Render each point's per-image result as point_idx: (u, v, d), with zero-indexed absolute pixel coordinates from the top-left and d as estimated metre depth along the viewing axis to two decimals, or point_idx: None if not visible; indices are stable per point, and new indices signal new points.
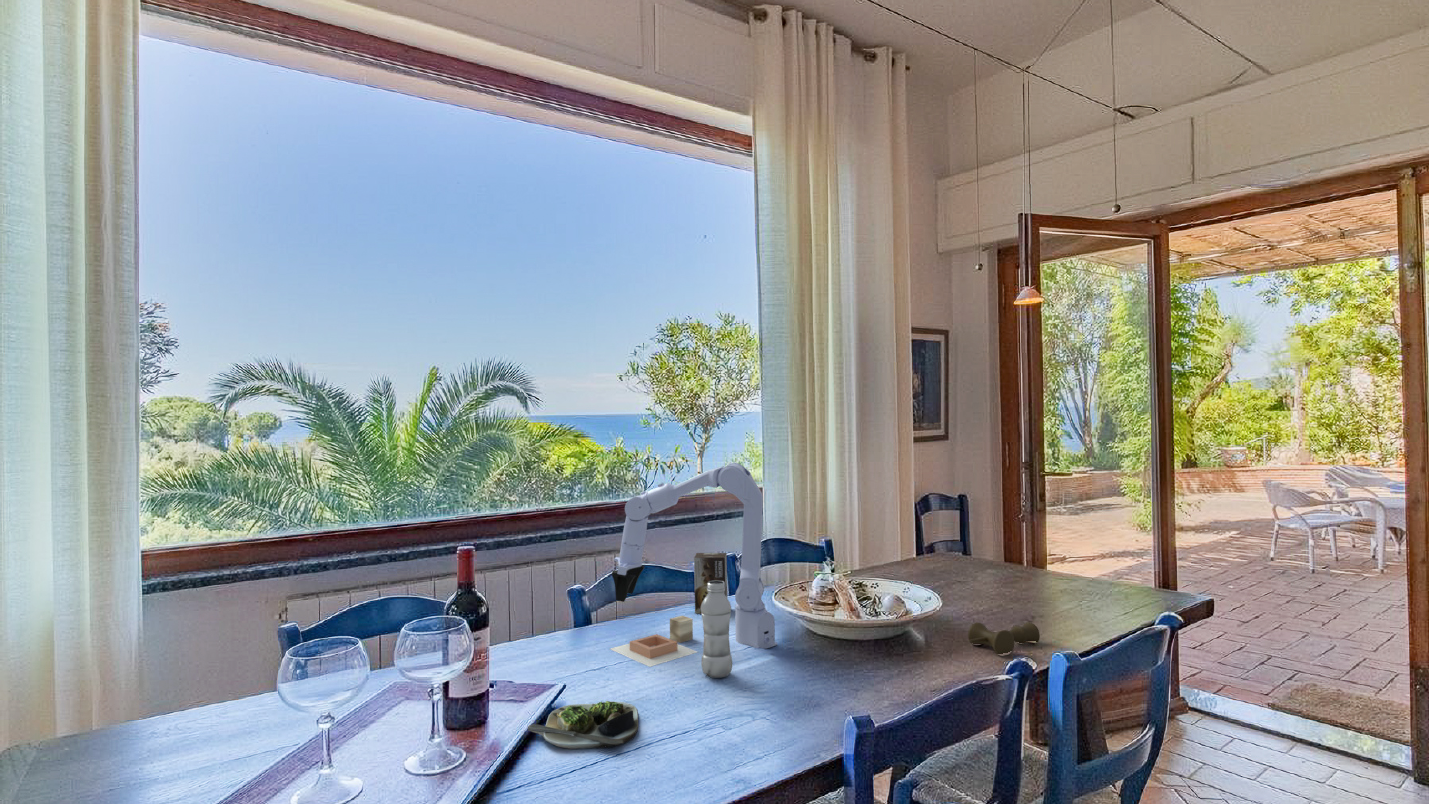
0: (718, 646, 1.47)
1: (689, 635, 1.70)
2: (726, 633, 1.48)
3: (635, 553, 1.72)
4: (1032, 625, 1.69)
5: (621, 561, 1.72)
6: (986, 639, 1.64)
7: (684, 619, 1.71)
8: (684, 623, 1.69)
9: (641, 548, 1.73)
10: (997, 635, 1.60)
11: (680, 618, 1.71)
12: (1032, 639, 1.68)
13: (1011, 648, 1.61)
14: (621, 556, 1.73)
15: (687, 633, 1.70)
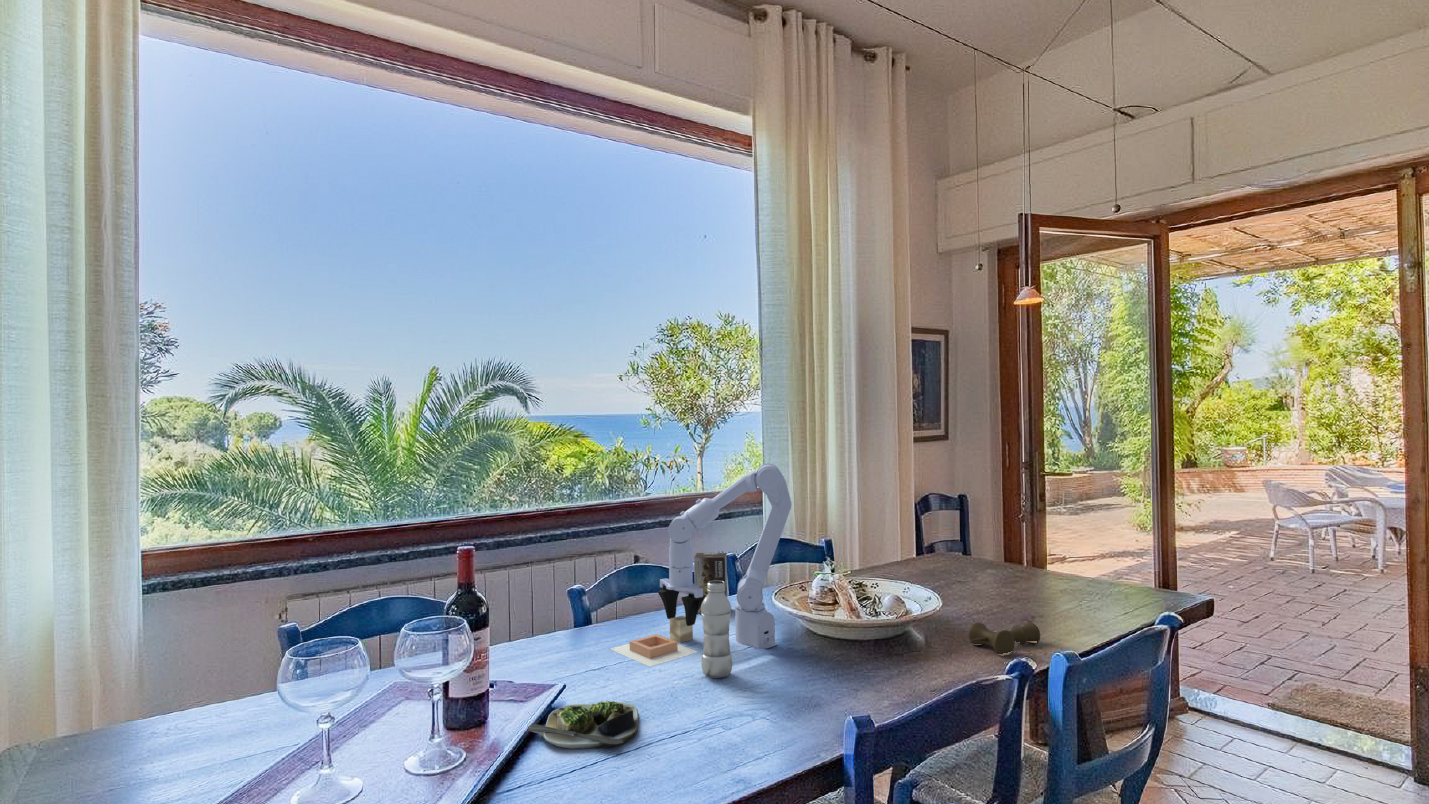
0: (718, 646, 1.47)
1: (689, 635, 1.70)
2: (726, 633, 1.48)
3: (691, 573, 1.71)
4: (1033, 625, 1.69)
5: (682, 586, 1.68)
6: (986, 639, 1.64)
7: (684, 619, 1.71)
8: (684, 623, 1.69)
9: None
10: (997, 635, 1.60)
11: (680, 618, 1.71)
12: (1032, 639, 1.68)
13: (1011, 648, 1.61)
14: (680, 582, 1.68)
15: (687, 633, 1.70)
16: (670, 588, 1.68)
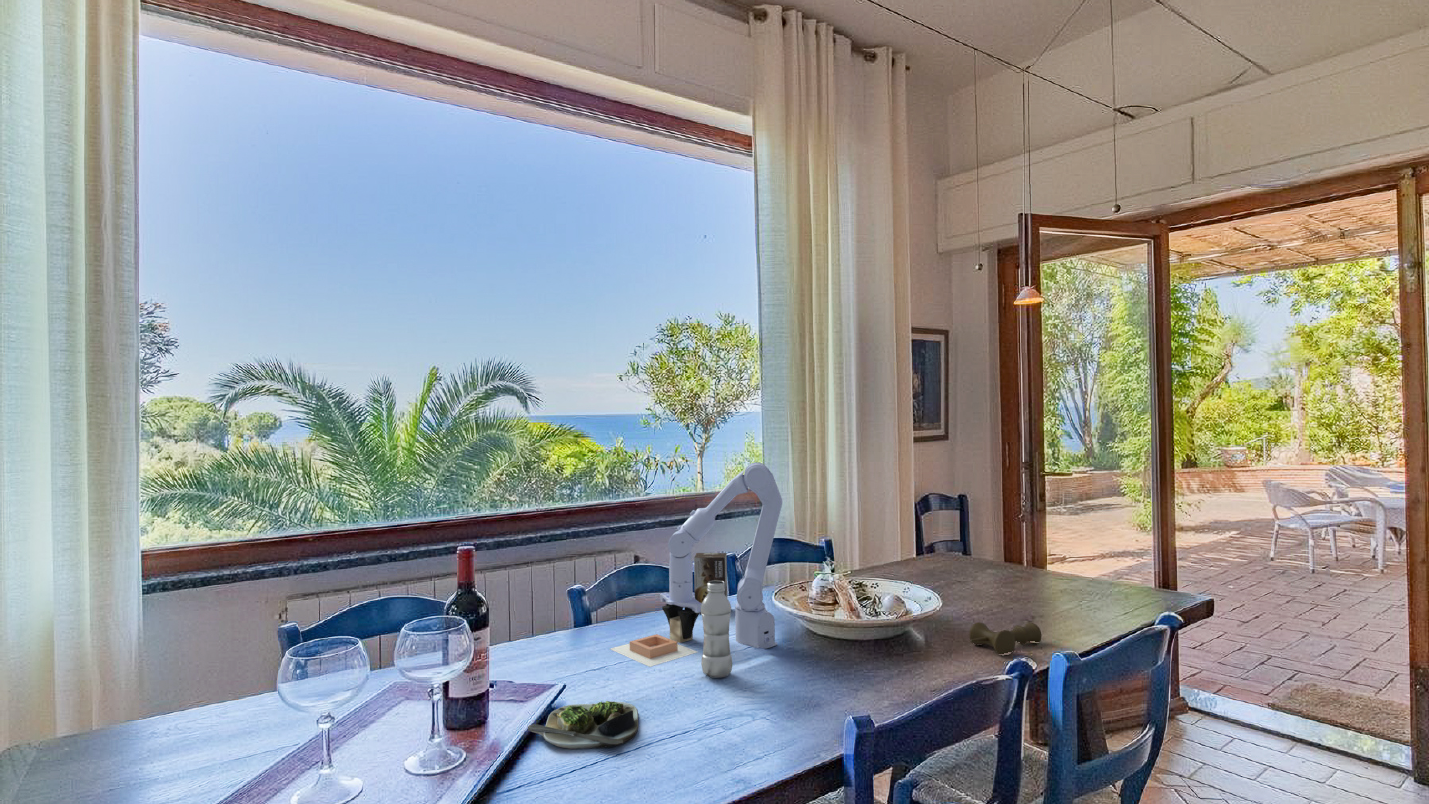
0: (718, 646, 1.47)
1: None
2: (726, 633, 1.48)
3: (691, 588, 1.70)
4: (1034, 625, 1.68)
5: (682, 601, 1.68)
6: (987, 639, 1.64)
7: None
8: None
9: None
10: (998, 635, 1.60)
11: None
12: (1033, 639, 1.67)
13: (1012, 648, 1.61)
14: (680, 596, 1.68)
15: None
16: (670, 603, 1.68)
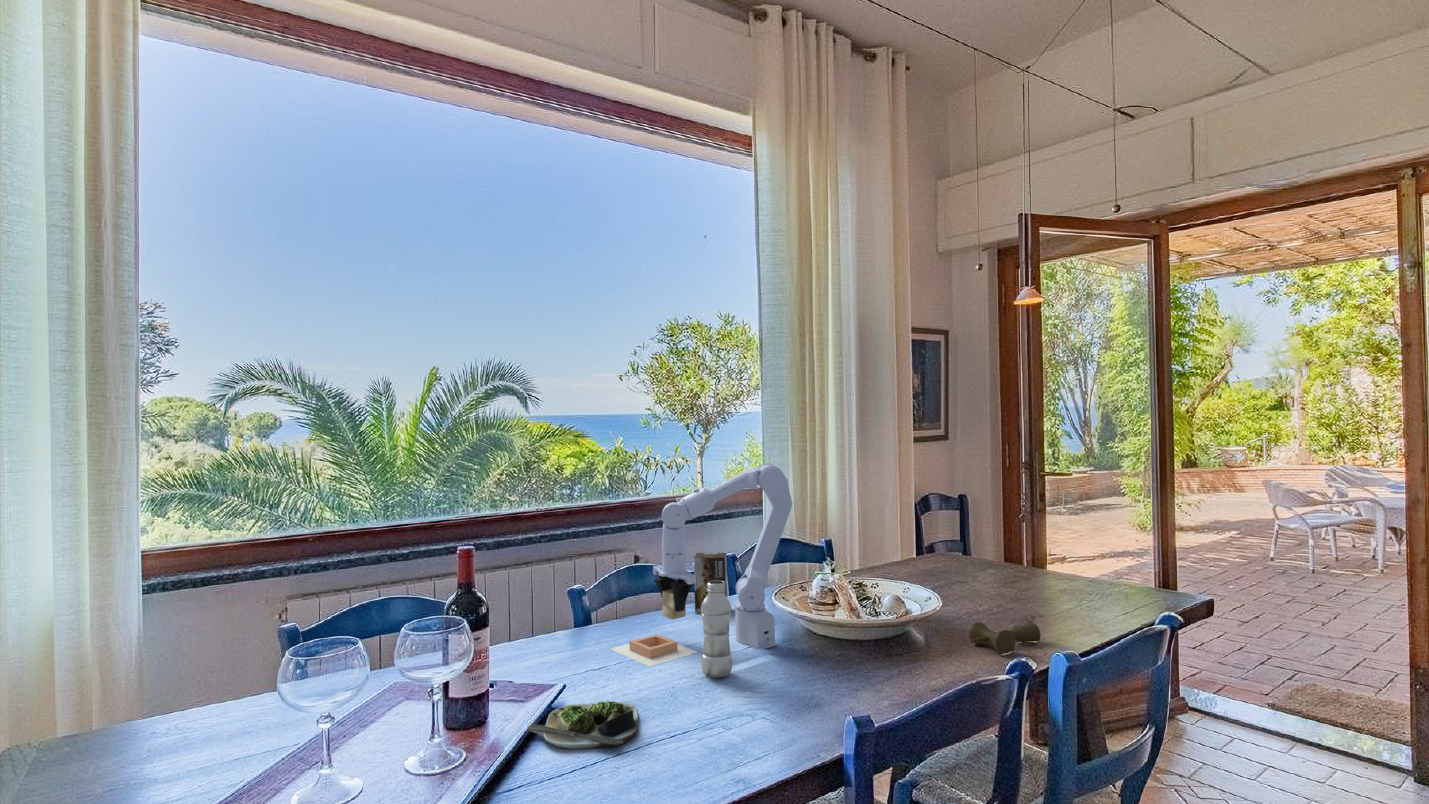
0: (718, 646, 1.47)
1: None
2: (726, 633, 1.48)
3: (684, 560, 1.69)
4: (1033, 624, 1.69)
5: (675, 573, 1.66)
6: (987, 639, 1.64)
7: None
8: None
9: None
10: (998, 634, 1.60)
11: None
12: (1032, 639, 1.68)
13: (1012, 648, 1.61)
14: (673, 568, 1.67)
15: None
16: (663, 575, 1.66)
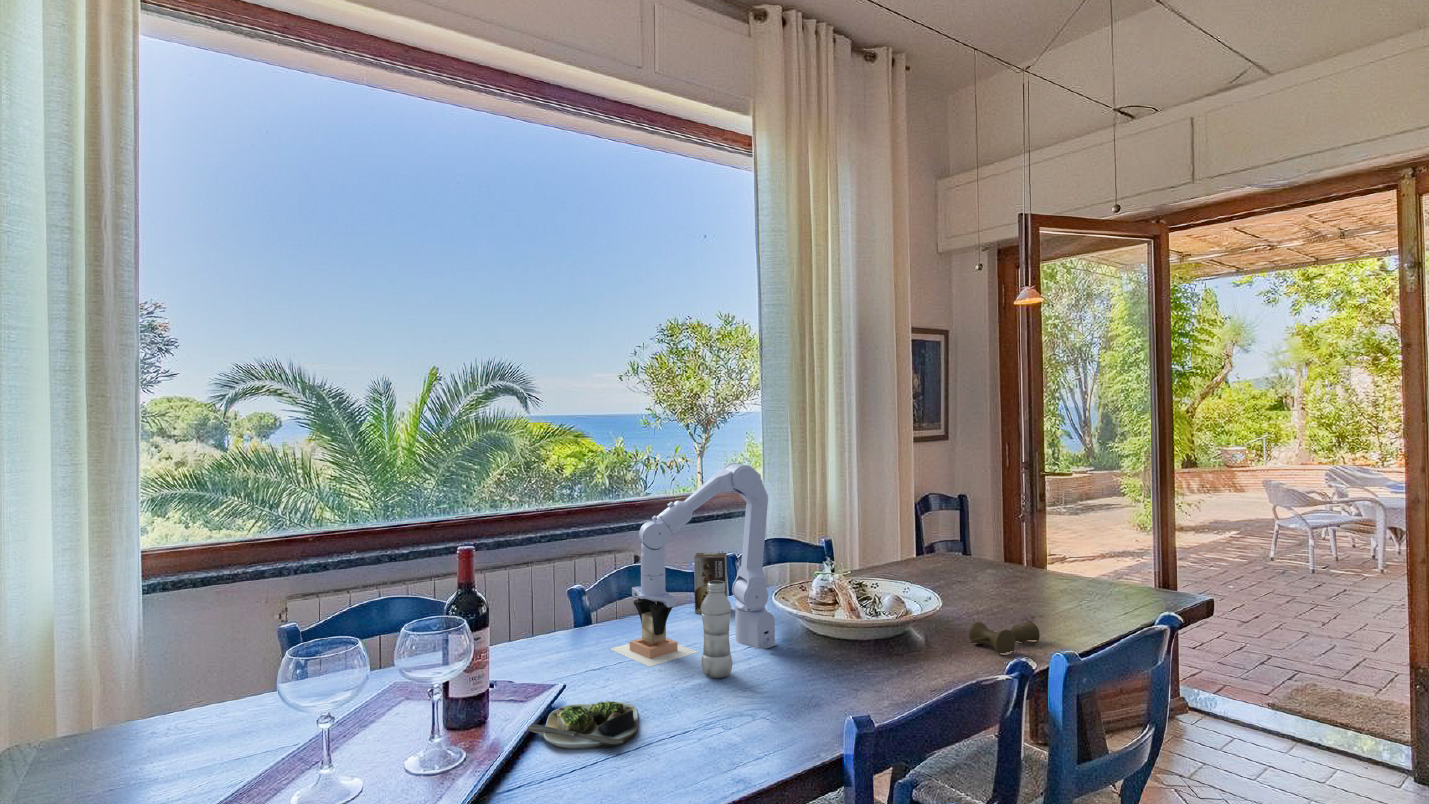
0: (718, 646, 1.47)
1: None
2: (726, 633, 1.48)
3: (664, 581, 1.62)
4: (1032, 624, 1.69)
5: (654, 595, 1.60)
6: (987, 639, 1.64)
7: None
8: None
9: None
10: (999, 634, 1.60)
11: None
12: (1032, 638, 1.68)
13: (1012, 647, 1.61)
14: (652, 590, 1.60)
15: None
16: (641, 597, 1.60)
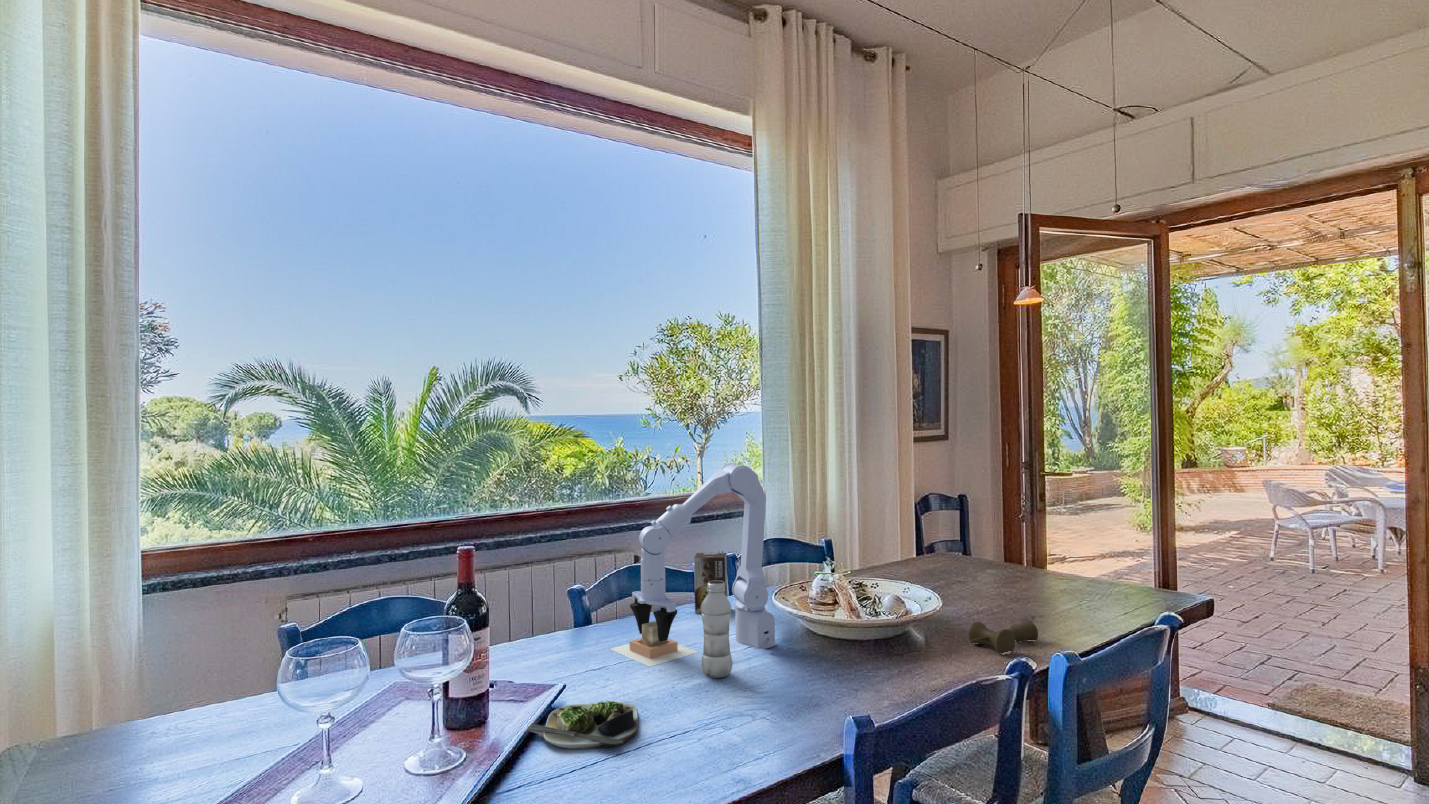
0: (718, 646, 1.47)
1: (662, 641, 1.62)
2: (726, 633, 1.48)
3: (664, 586, 1.62)
4: (1030, 623, 1.70)
5: (654, 600, 1.60)
6: (987, 638, 1.64)
7: None
8: (657, 629, 1.61)
9: None
10: (999, 634, 1.60)
11: (653, 624, 1.63)
12: (1030, 637, 1.69)
13: (1012, 647, 1.62)
14: (652, 595, 1.60)
15: None
16: (641, 602, 1.60)
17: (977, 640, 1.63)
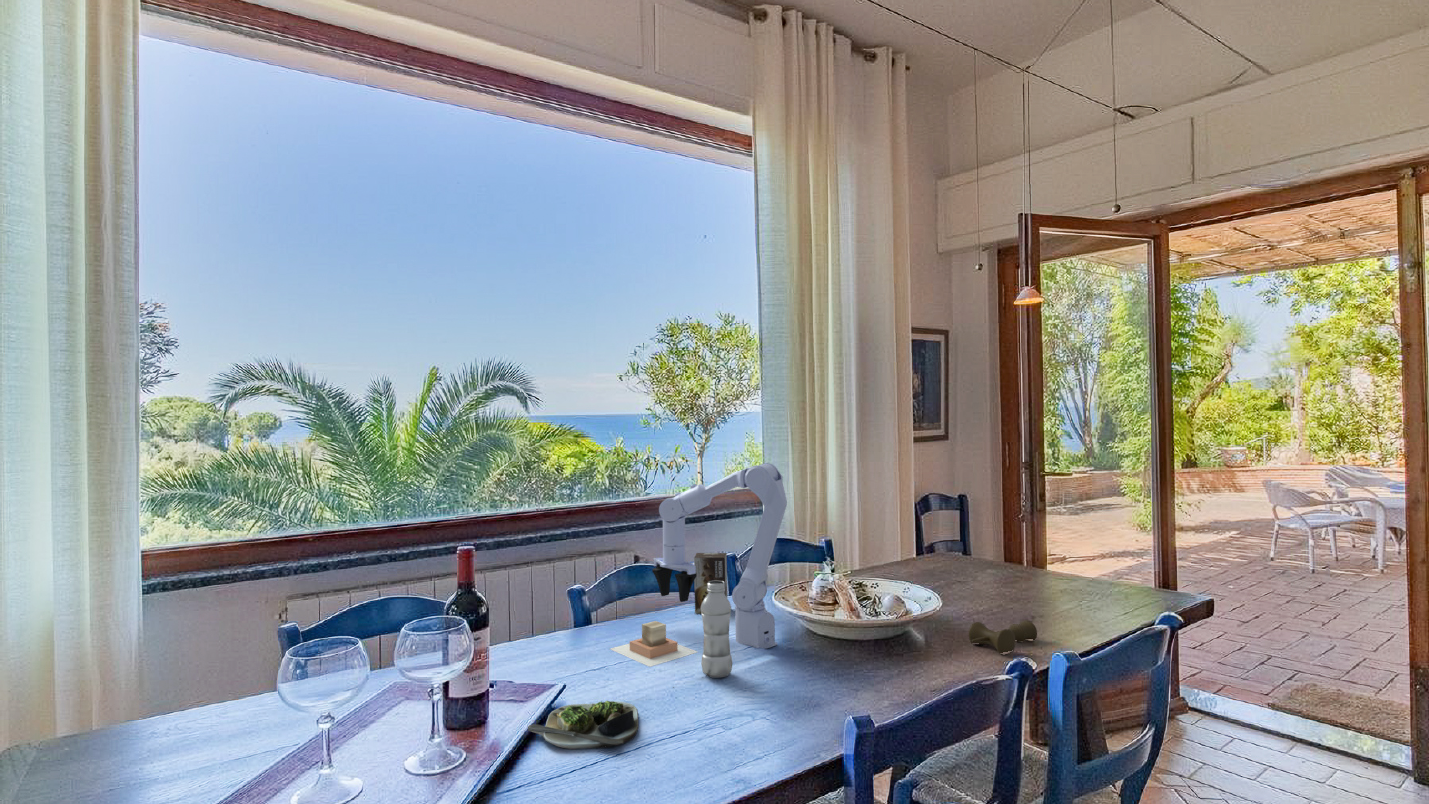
0: (718, 646, 1.47)
1: (662, 641, 1.62)
2: (726, 633, 1.48)
3: (684, 551, 1.77)
4: (1029, 623, 1.70)
5: (675, 564, 1.75)
6: (987, 638, 1.64)
7: (657, 624, 1.63)
8: (657, 629, 1.61)
9: None
10: (1000, 634, 1.61)
11: (653, 624, 1.63)
12: (1029, 637, 1.69)
13: (1012, 647, 1.62)
14: (673, 559, 1.75)
15: (660, 640, 1.62)
16: (664, 566, 1.74)
17: (978, 640, 1.63)
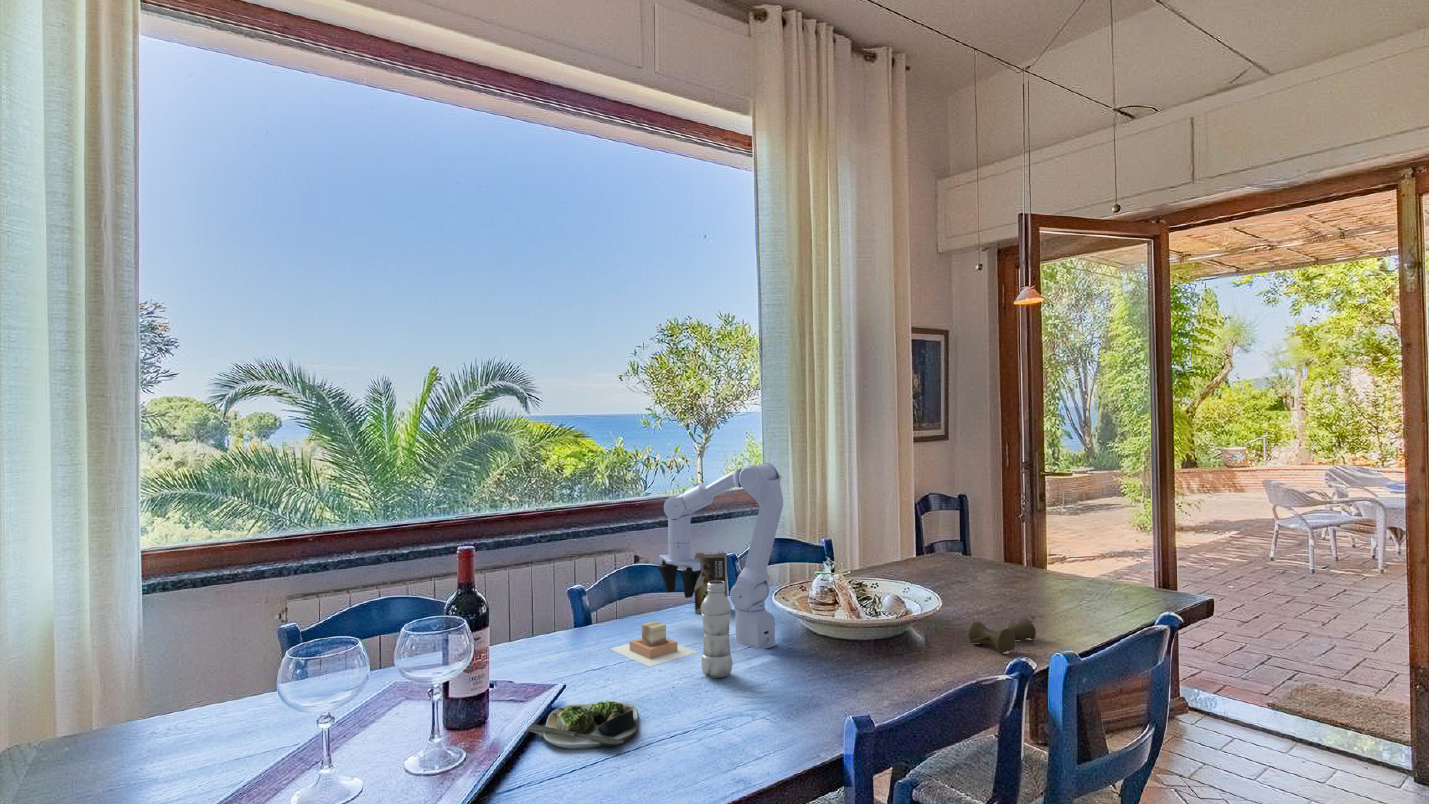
0: (718, 646, 1.47)
1: (662, 641, 1.62)
2: (726, 633, 1.48)
3: (689, 549, 1.81)
4: (1028, 622, 1.71)
5: (680, 561, 1.78)
6: (988, 638, 1.64)
7: (657, 624, 1.63)
8: (657, 629, 1.61)
9: None
10: (1000, 633, 1.61)
11: (653, 624, 1.63)
12: (1028, 636, 1.70)
13: (1013, 646, 1.62)
14: (678, 556, 1.79)
15: (660, 640, 1.62)
16: (669, 562, 1.78)
17: (978, 640, 1.63)
